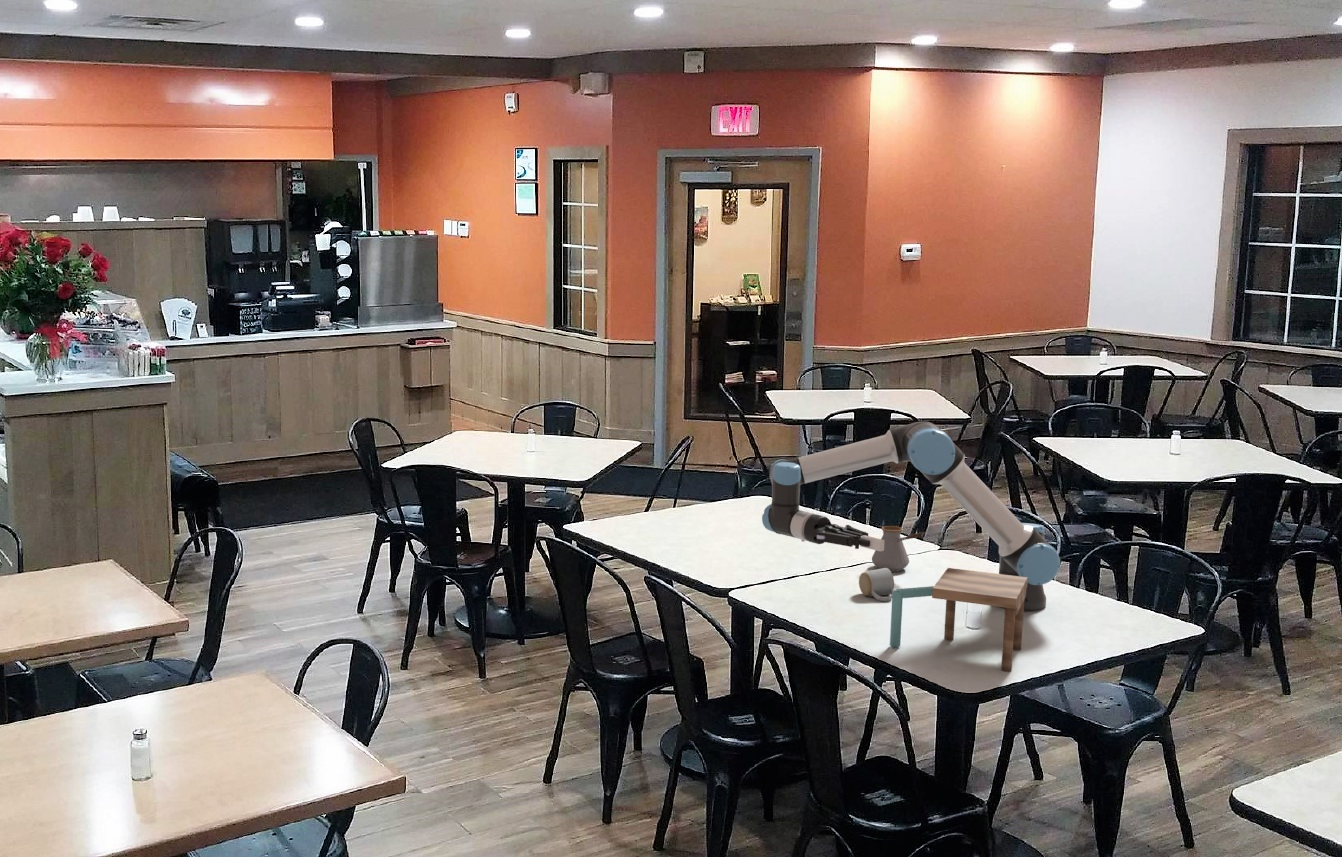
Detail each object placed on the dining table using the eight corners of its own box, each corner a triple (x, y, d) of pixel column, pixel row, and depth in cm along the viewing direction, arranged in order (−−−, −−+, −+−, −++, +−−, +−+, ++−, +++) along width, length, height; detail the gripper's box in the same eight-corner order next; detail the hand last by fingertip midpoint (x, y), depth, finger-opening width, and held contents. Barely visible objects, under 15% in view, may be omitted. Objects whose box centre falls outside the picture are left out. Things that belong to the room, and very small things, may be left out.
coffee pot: (863, 566, 402) (865, 519, 400) (892, 562, 408) (894, 515, 406) (908, 584, 384) (911, 535, 382) (938, 579, 390) (940, 530, 387)
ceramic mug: (856, 592, 375) (857, 567, 373) (881, 590, 378) (882, 564, 376) (874, 603, 365) (876, 577, 364) (900, 601, 368) (901, 575, 366)
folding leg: (944, 638, 334) (947, 582, 331) (949, 642, 331) (952, 585, 329) (888, 644, 329) (890, 587, 326) (892, 647, 326) (895, 589, 324)
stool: (944, 636, 337) (947, 567, 334) (1022, 647, 330) (1027, 577, 326) (928, 660, 319) (932, 588, 316) (1011, 672, 311) (1016, 598, 308)
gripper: (827, 537, 349) (897, 556, 332) (794, 545, 340) (865, 564, 323) (828, 510, 348) (899, 527, 331) (795, 517, 339) (866, 535, 322)
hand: (882, 545), depth 327 cm, fingers closed
